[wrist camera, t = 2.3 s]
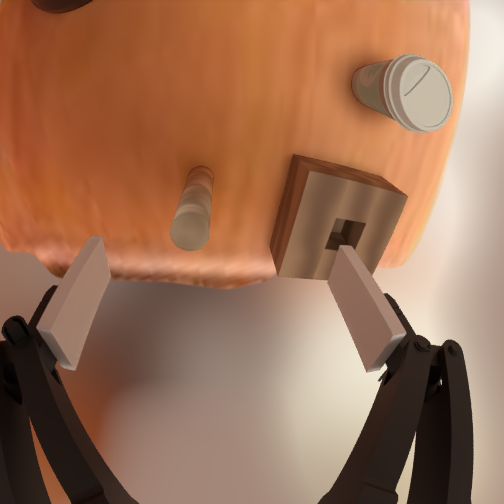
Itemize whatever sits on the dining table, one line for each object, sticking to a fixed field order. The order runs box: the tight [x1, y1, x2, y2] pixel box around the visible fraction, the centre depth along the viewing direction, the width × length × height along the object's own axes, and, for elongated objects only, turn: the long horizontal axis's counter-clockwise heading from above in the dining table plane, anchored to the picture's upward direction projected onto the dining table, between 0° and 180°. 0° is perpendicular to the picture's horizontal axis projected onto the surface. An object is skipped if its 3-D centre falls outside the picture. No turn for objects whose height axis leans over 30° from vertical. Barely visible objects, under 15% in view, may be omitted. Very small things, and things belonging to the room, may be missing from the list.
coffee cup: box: [352, 54, 453, 133], centre depth 23 cm, size 8×8×12 cm
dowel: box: [170, 166, 213, 251], centre depth 27 cm, size 3×3×14 cm
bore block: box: [270, 154, 408, 280], centre depth 35 cm, size 14×14×7 cm
